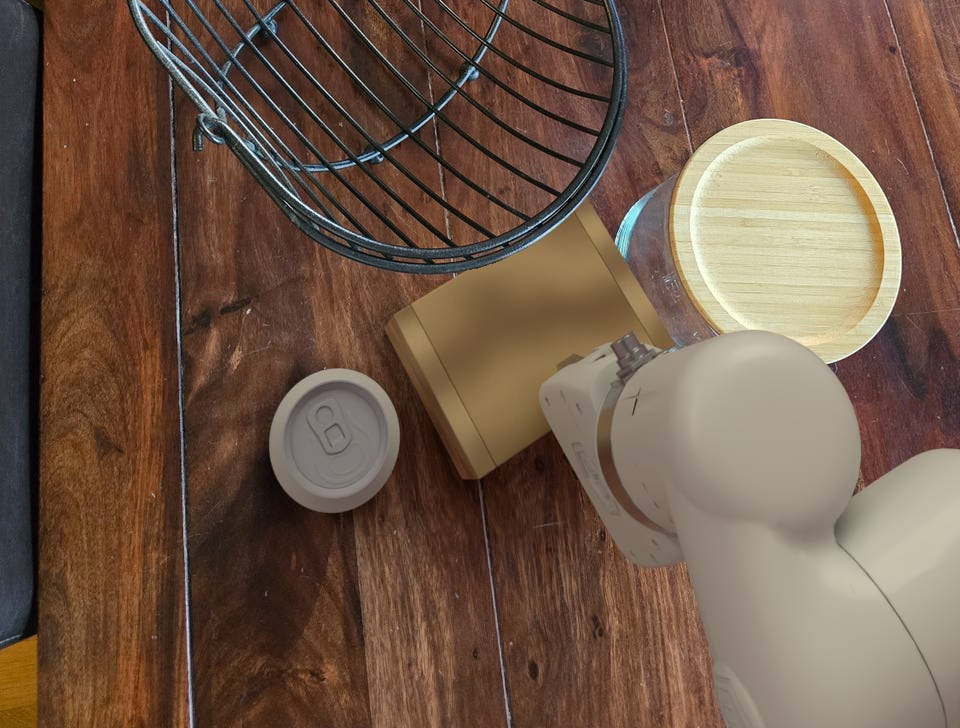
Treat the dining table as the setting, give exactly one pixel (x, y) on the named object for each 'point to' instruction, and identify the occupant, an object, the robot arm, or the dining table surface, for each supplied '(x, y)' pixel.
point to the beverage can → (334, 440)
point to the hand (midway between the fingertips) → (589, 452)
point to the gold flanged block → (517, 337)
